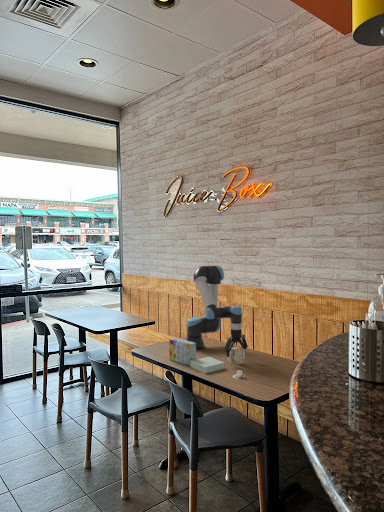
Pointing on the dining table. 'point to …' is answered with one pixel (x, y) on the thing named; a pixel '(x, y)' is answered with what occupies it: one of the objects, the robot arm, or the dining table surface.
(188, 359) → the snack box
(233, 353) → the maple block
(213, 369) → the sage base plate
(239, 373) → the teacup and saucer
